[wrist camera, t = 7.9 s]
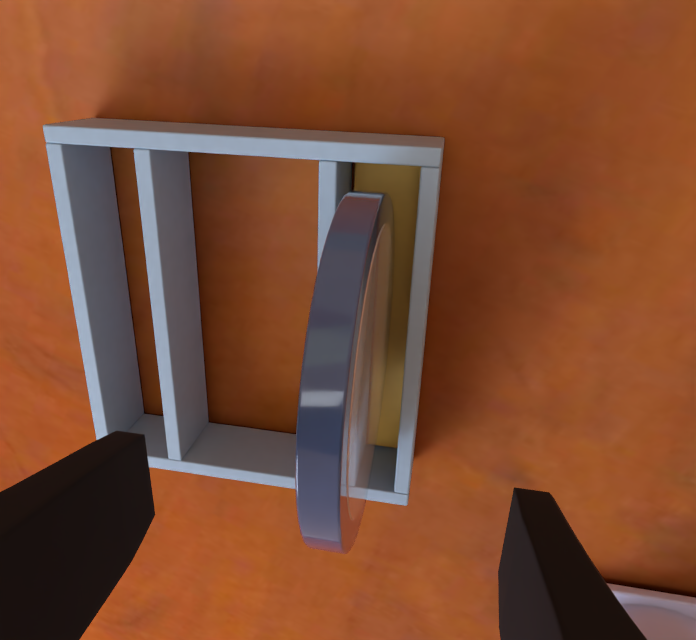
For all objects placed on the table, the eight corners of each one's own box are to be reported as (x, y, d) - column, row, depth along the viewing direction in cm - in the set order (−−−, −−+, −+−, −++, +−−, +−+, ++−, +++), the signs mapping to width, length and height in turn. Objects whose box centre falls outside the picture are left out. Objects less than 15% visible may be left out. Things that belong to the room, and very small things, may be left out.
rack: (413, 460, 22) (407, 506, 19) (134, 422, 23) (99, 459, 21) (445, 136, 17) (442, 147, 15) (92, 117, 19) (41, 124, 16)
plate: (382, 436, 21) (332, 647, 12) (356, 433, 21) (289, 639, 12) (403, 178, 18) (355, 221, 9) (372, 176, 18) (299, 217, 10)
